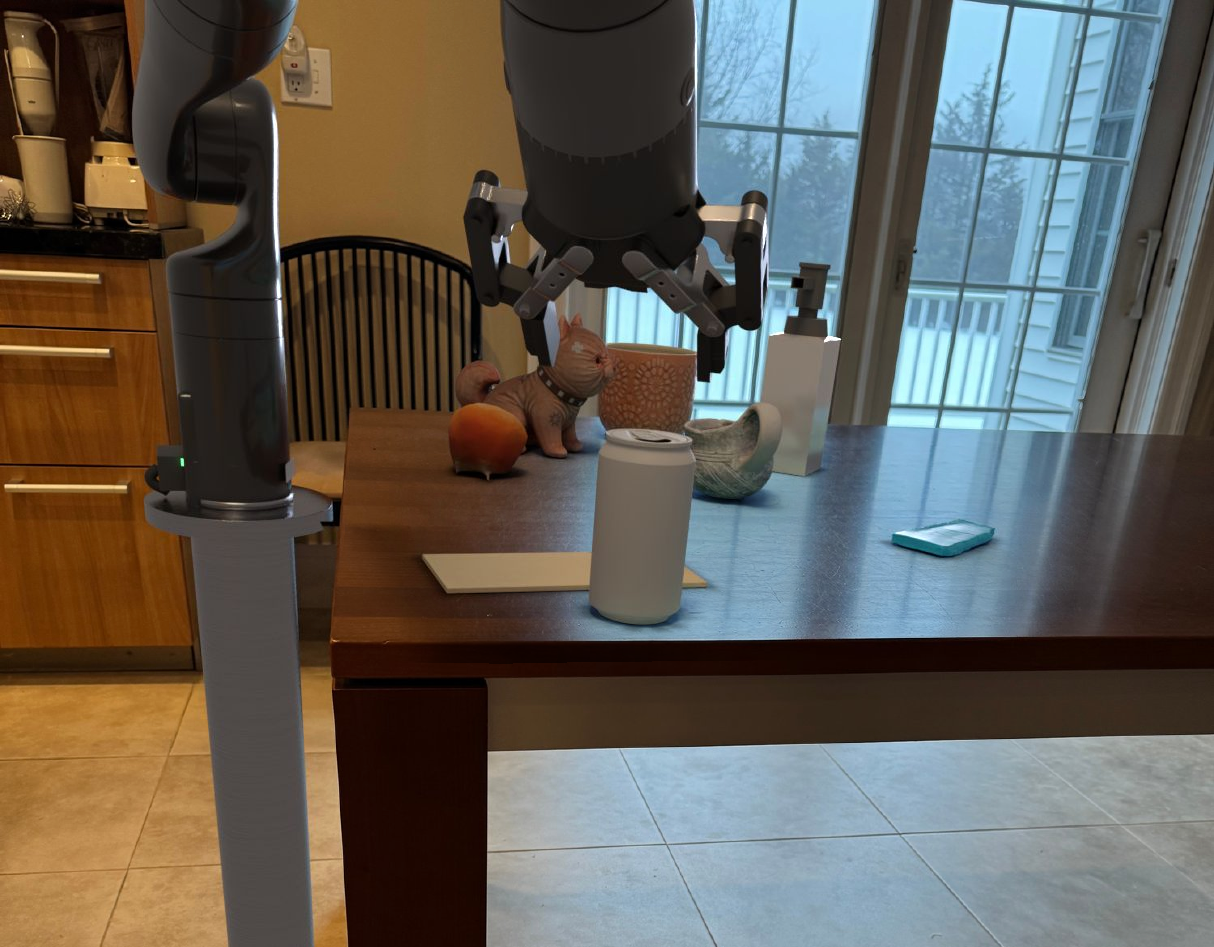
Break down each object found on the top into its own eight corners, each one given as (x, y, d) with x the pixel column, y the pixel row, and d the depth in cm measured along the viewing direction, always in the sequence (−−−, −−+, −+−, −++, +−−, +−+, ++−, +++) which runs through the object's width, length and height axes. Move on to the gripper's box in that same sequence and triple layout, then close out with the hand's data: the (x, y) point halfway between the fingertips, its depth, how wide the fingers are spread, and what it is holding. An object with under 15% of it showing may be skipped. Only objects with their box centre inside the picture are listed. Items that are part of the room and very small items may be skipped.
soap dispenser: (744, 470, 131) (771, 260, 121) (769, 460, 138) (796, 261, 128) (798, 479, 129) (830, 265, 119) (820, 468, 136) (852, 266, 126)
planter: (693, 437, 150) (702, 348, 145) (687, 452, 139) (697, 357, 134) (601, 428, 151) (607, 339, 146) (587, 442, 140) (593, 347, 135)
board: (446, 593, 79) (447, 588, 79) (422, 559, 87) (422, 553, 87) (706, 587, 86) (707, 582, 86) (662, 555, 93) (663, 550, 93)
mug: (730, 484, 123) (742, 387, 118) (809, 511, 114) (826, 406, 109) (659, 489, 117) (668, 387, 113) (736, 517, 108) (750, 407, 104)
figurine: (596, 466, 126) (606, 320, 119) (438, 444, 130) (439, 303, 124) (622, 453, 134) (633, 317, 128) (473, 433, 139) (476, 300, 132)
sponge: (1015, 534, 107) (963, 513, 110) (945, 548, 99) (891, 526, 102) (1010, 549, 107) (958, 528, 111) (939, 565, 100) (886, 542, 103)
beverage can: (607, 630, 75) (622, 442, 69) (574, 600, 80) (585, 424, 75) (694, 625, 77) (715, 443, 72) (656, 597, 82) (673, 426, 77)
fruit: (425, 462, 113) (443, 386, 114) (453, 491, 121) (471, 420, 121) (499, 472, 111) (518, 395, 112) (523, 502, 119) (541, 430, 119)
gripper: (793, 22, 45) (769, 317, 61) (452, 2, 47) (513, 294, 63) (767, 164, 43) (749, 434, 58) (410, 137, 45) (483, 406, 60)
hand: (627, 361), depth 60 cm, fingers open, 8 cm apart
